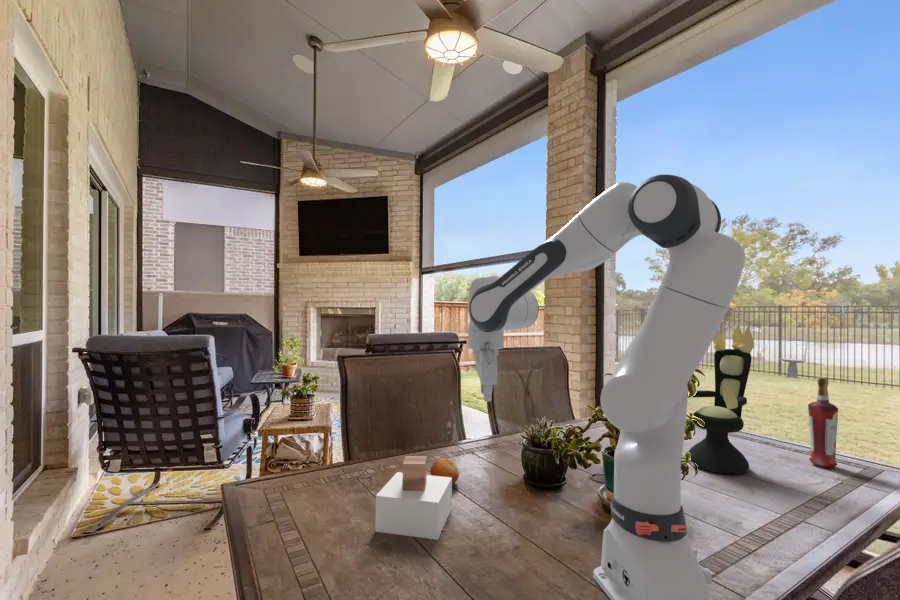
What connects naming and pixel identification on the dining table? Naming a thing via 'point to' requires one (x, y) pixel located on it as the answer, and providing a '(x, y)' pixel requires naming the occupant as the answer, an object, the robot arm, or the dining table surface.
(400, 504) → the cream box
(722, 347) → the crowned throne chair
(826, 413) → the liquor
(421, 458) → the terracotta block
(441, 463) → the fruit
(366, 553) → the dining table surface
